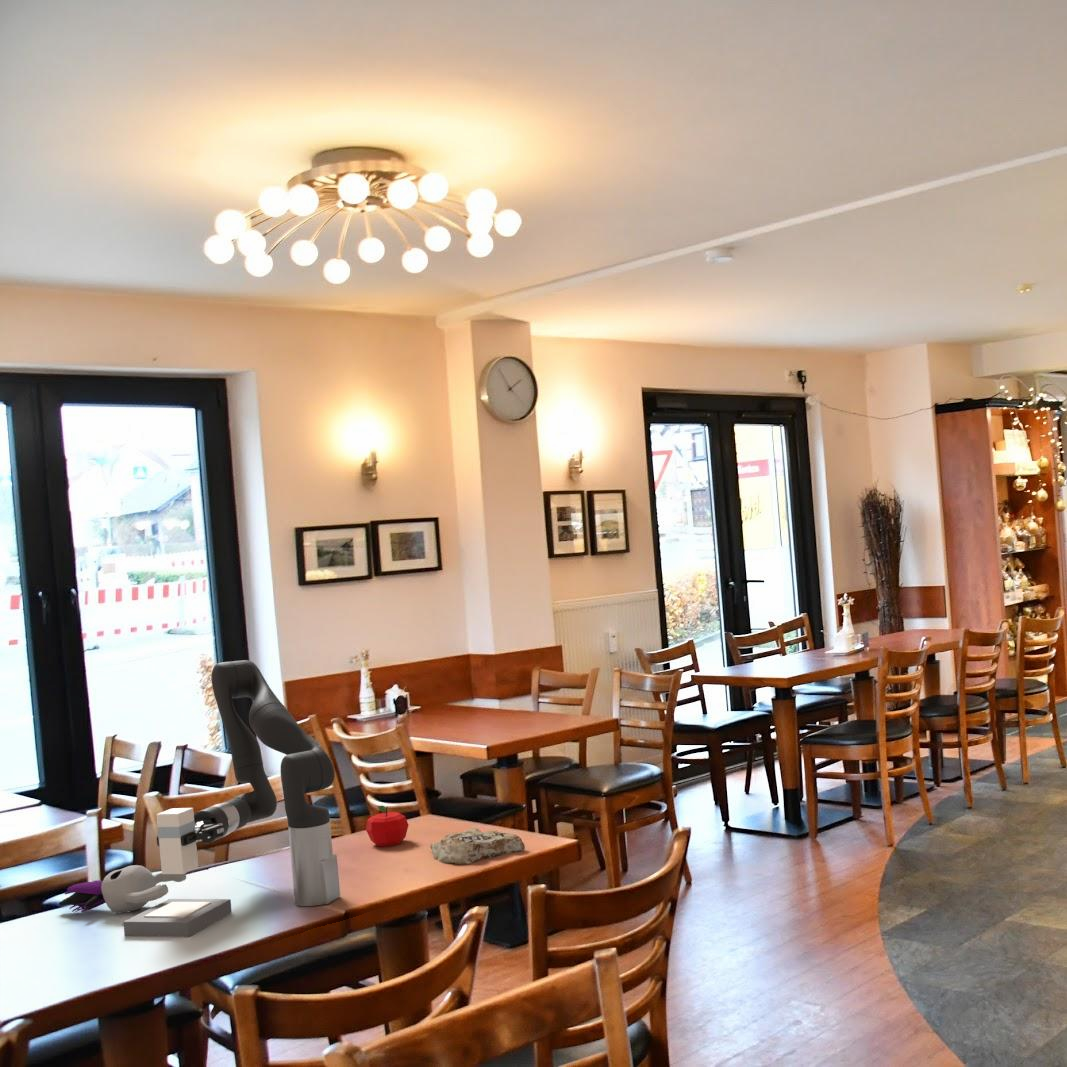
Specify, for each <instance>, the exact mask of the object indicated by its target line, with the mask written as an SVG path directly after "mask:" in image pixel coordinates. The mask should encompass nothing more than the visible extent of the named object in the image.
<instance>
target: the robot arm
mask: <svg viewBox="0 0 1067 1067" xmlns="http://www.w3.org/2000/svg"><path fill="white" fill-rule="evenodd" d="M210 677H211V687H212V691H213V695H214V698H215V702H216V706H217V708H218V711H219V715H220V718H221V722H222V725H223V727H224V730H225V734H226V736H227V742H228V745H229V748H230V749H229V750H230V753H231V754H230V755H231V761H232V767H233V772H234V777H235V780H236V782H238V783H241V784H246V783H249V784H250V786H251V788H252V789H253V790H252V791H250V792H249V791H248V792H245V793H241V794H239V795H236V796H235V797H232V799H229V800H227V801H223V802H221V803H216V804H214V805H211V806H208V807H206V808H203V809H201V810H198V811H197V812H196V813H195V814H194V821H195V830H193V832H190V833H187V834H185V835H182V836H181V845H182V846H186V845H188V844H191V843H193V842H196V844H197V843H201V844H210V843H212V842H215V841H218V840H220V839H222V838H224V837H226V836H228V835H229V834H231V833H233V832H235V831H237V830H239V829H242V828H243V827H244V826H246V825H247V824H249V823H253V822H255V821H260V820H264V819H266V818H270V817H272V816H274V814H275V813H276V811H277V807H278V799H277V796H276V793H275V792H274V789H273V787H272V785H271V783H270V781H269V778H268V776H267V774H266V772H265V768H264V761H263V758H262V752H261V751H262V750H261V746H260V743H259V741H260V742H261V743H262V744H263V745H264V746H266V747H268V748H269V749H272V750H274V751H277V752H278V753H281V754H284V757H282V760H281V762H280V780H281V786H282V787H281V788H282V794H283V801H284V809H285V810H284V811H285V815H286V818H287V826H288V837H289V838H288V839H289V850H290V862H291V863H290V864H291V874H292V882H293V884H292V885H293V896H294V903H295V905H296V906H300V907H314V906H316V907H317V906H321V905H329V904H330V903H332V902H333V901H335V900H337V899H339V898H340V897H341V887H340V877H339V866H338V856H337V854H336V853H333V842H332V829H331V815H330V810H329V809H328V808H327V807H325V806H320V805H315V804H312V803H311V804H310V803H309V802H308V801H307V800H306V796H305V794H310V793H315V792H319V791H323V790H326V789H328V788H329V787H331V786H332V784H333V783H334V781H335V777H336V776H335V775H336V774H335V768H334V763H333V761H332V760H331V758H330V756H329V755H328V753H327V752H326V750H324V748H322V747H321V745H319V743H317V742H316V741H315V740H314V739H312V737H310V736H309V734H307V733H306V731H305V730H304V729H303V728H302V727H301V726H300V724H299V723H298V722H297V721H296V719H295V718H294V717H293V715H292V714H291V713H290V711H289V710H288V709H287V707H286V706H285V705H284V704H283V703H282V702H281V700H280V699H279V698H278V697H277V695H276V694H275V693H274V691H273V690H272V689H271V687H270V686H269V684H268V682H267V681H266V679H265V678H264V675H263V674H262V672H261V670H260V669H259V667H258V665H257V664H255V663H254V661H252V660H248V659H244V660H234V661H232V660H231V661H224V662H218V663H216V664H215V665H214V666H213V668H212V671H211V676H210ZM241 698H249V699H251V700H252V701H253V702H252V704H251V707H250V710H249V714H248V723H249V724H248V725H249V726H250V727H248V726H247V725H246V724H245V723H244V721H243V720H242V719H241V717H240V716H239V714H238V713H237V710H236V708H235V705H234V700H233V699H241ZM250 729H251V730H252V731H251V730H250ZM254 734H255V735H256V736H255V735H254ZM258 740H259V741H258ZM156 844H157V847H159V838H158V835H157V836H156Z"/></svg>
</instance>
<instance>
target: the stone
mask: <svg viewBox="0 0 1067 1067" xmlns="http://www.w3.org/2000/svg"><path fill="white" fill-rule="evenodd" d="M525 849H526V848H525V843H524V841H523V840H522V838H521V837H520V836H518V835H517V834H511V833H506V832H499V831H498V830H487V831H483V832H482V831H481V830H480V829H478V828H471V829H466V830H463V831H461V832H452V833H449V834H447V835H445V836H444V837H443V839H440V840H439V841H437V842H434V843H431V844H430V850H431V854H432V855H433V859H434V860H436V861H438V862H440V863H444V864H445V863H446V864H450V863H451V864H452V863H453V864H456V865H469V864H470V865H471V864H473V863H475V862H478V861H482V860H486V859H487V860H488V859H492V858H496V857H498V856H502V855H505V854H513V853H519V852H521V853H522V852H524V851H525Z"/></svg>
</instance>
